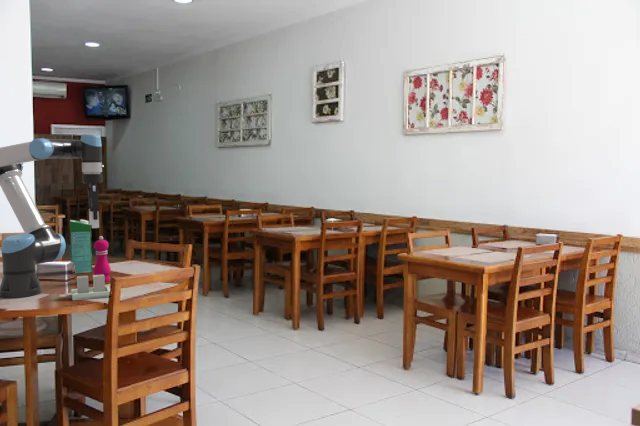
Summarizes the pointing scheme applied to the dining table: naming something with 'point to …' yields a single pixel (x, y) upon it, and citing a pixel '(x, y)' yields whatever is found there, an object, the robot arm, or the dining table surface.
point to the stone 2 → (98, 283)
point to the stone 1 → (82, 284)
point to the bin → (90, 294)
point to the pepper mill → (102, 259)
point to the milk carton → (81, 245)
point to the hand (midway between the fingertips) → (94, 226)
